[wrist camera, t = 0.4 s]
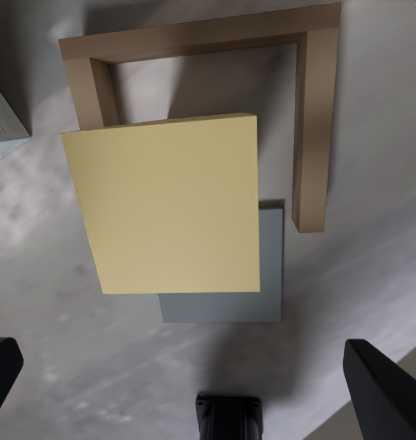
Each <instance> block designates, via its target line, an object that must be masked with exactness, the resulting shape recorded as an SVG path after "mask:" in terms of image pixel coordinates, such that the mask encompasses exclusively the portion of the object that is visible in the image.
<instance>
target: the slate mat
mask: <svg viewBox="0 0 416 440" xmlns="http://www.w3.org/2000/svg"><path fill="white" fill-rule="evenodd" d="M258 216H259V271H260V292H201V293H158V294H159V300H160V305H161V311H162V316H163V322H164V323H228V322H281V285H282V223H283V208H282V206H275V207H258Z"/></svg>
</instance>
